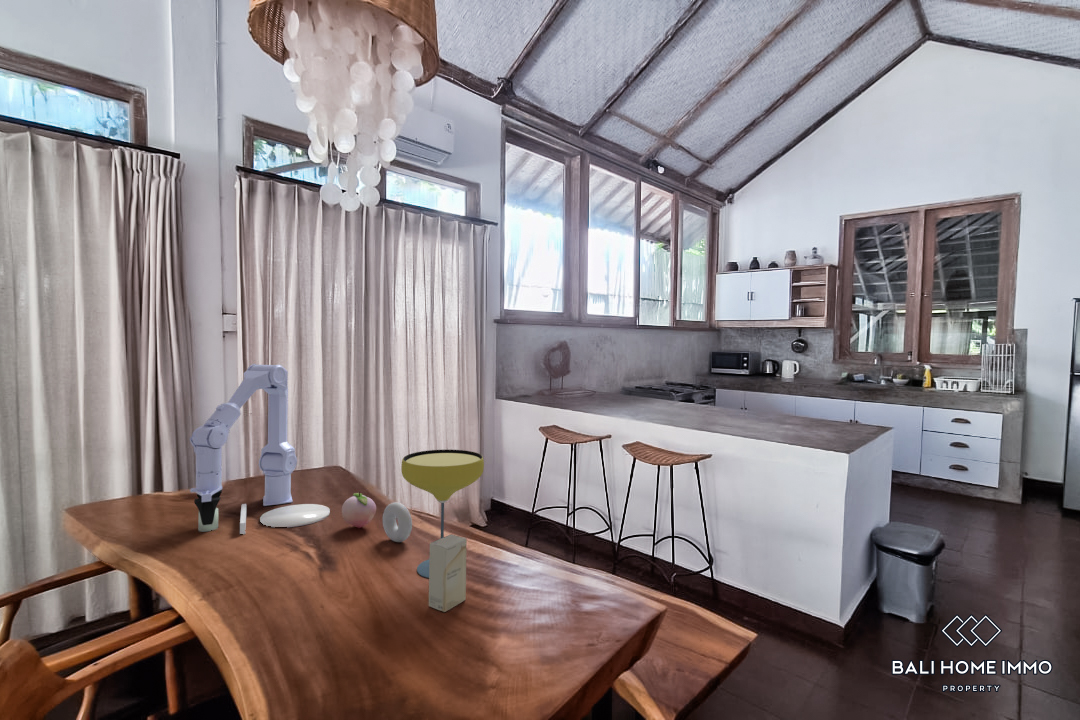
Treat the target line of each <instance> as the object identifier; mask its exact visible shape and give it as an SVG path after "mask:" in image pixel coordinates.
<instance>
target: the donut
mask: <svg viewBox="0 0 1080 720" xmlns="http://www.w3.org/2000/svg"><path fill="white" fill-rule="evenodd" d="M382 527H383V530H384V532H385V534H386V536H387V537H388V538H389V539H390V540H391V541H392V542H396V543H403V542H404V541H406V540H407V539H408V538H409V536H410V535H411V533H412V529H413V519H412V516H411V513H410V511H409V509H408V508H407V506H406V505H404V503H401V502H399V501H397V502H396V501H394V502H391V503H388V505H386V507H385V508H384V510H383V514H382Z"/></svg>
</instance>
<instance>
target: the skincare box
mask: <svg viewBox="0 0 1080 720" xmlns="http://www.w3.org/2000/svg"><path fill="white" fill-rule="evenodd" d="M467 541H468V540H467V538H466V537H463V536H459V535H455V534H452V533H451V534H448V535H446V536H444V537H443V538H441V537H440V538H439V539H437V540H435V541H432V542H430V543H429V558H428V559H429V578H428V607H430V608H433V609H435V610H438V611H441V612H442V613H445V612H447V611H450V610H452V609H453V608H454V607H456V606H458V605H459V604H461V603H462V602H465V601H466V599H467V597H466V596H467V592H466V591H467Z"/></svg>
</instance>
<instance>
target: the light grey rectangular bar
mask: <svg viewBox="0 0 1080 720" xmlns="http://www.w3.org/2000/svg"><path fill="white" fill-rule="evenodd" d="M240 507H241V509H240V519H239V521H240V522H239V535H240V534H243V535H246V531H245V530H246V529H247V528H246V527H247V526H246V525H247V503H241V506H240Z"/></svg>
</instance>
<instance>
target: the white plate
mask: <svg viewBox="0 0 1080 720" xmlns="http://www.w3.org/2000/svg"><path fill="white" fill-rule="evenodd" d="M330 511H331V510H330V507H328V506H325V505H322V504H317V503H302V504H291V505H287V506H281V507H277V508H274V509H271V510H269V511H266V512H264V513H263V514H262V515H261V516H260V517H259V521H260V522H261V523H262V524H263V525H262V524H261V523H260V522H259V523H260V524H261V525H262V526H264V525H266V526H265V527H268V526H271V527H270V528H275V527H287V528H296V527H301V526H302V527H303V526H306V525H311V524H314V523H315V524H316V523H318V522H320V521H323V520H325V519H327V518H328V517H329V515H330Z"/></svg>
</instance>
